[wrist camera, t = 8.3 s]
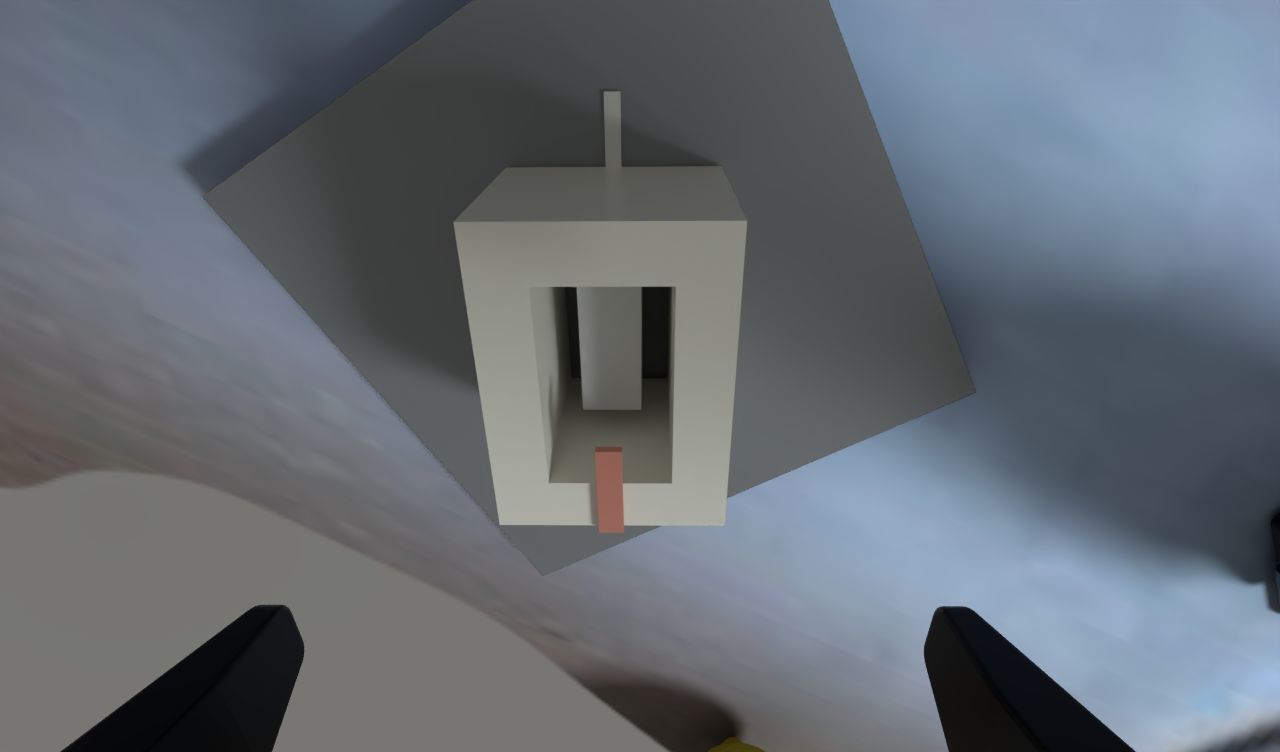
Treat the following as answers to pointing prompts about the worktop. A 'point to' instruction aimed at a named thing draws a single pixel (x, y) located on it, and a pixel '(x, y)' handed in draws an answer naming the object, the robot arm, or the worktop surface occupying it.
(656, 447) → the square tube sleeve
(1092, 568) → the worktop surface
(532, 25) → the grey peg base plate
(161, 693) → the robot arm
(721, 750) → the lemon
